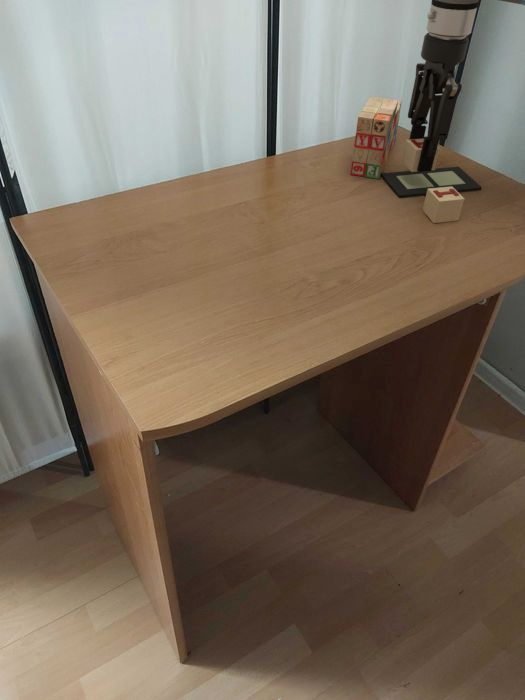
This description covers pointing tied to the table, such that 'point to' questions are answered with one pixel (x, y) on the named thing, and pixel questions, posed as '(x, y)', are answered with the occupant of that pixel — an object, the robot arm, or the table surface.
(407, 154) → the cream cube
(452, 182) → the word mat
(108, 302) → the table surface
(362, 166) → the stack of blocks
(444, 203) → the wooden letter block
